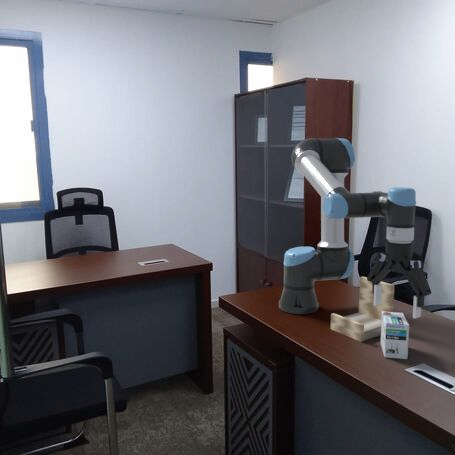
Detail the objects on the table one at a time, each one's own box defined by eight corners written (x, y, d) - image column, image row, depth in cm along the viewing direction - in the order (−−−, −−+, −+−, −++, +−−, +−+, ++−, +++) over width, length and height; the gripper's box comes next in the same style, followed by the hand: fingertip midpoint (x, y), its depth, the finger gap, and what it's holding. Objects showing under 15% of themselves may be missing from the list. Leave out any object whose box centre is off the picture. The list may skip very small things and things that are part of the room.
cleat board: (330, 329, 157) (332, 283, 154) (361, 319, 165) (362, 276, 163) (360, 342, 146) (363, 293, 143) (391, 330, 155) (394, 285, 152)
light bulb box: (408, 360, 134) (410, 324, 132) (383, 358, 135) (385, 323, 133) (401, 344, 144) (403, 312, 142) (379, 343, 145) (381, 310, 144)
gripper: (357, 236, 142) (354, 302, 145) (431, 249, 121) (427, 326, 125) (372, 233, 146) (370, 298, 149) (447, 246, 126) (442, 320, 129)
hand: (396, 311), depth 137 cm, fingers open, 13 cm apart
